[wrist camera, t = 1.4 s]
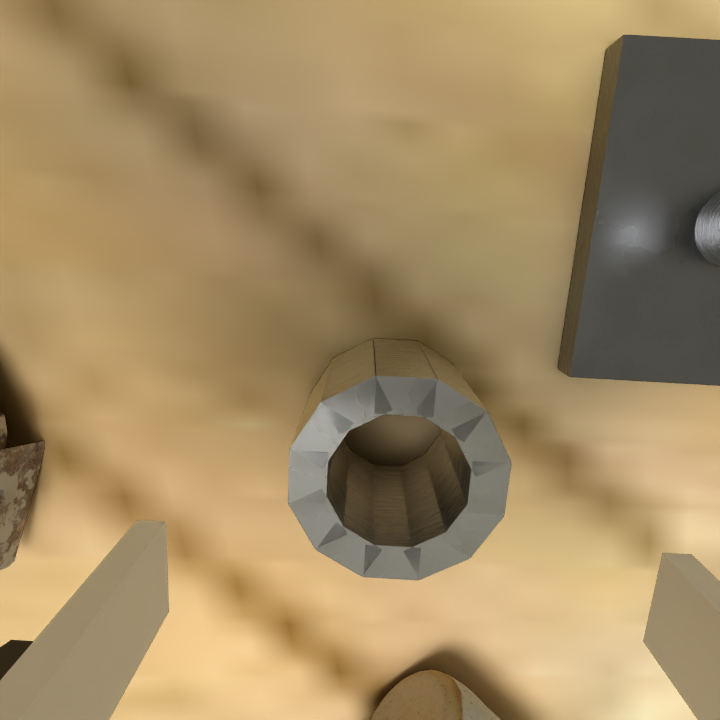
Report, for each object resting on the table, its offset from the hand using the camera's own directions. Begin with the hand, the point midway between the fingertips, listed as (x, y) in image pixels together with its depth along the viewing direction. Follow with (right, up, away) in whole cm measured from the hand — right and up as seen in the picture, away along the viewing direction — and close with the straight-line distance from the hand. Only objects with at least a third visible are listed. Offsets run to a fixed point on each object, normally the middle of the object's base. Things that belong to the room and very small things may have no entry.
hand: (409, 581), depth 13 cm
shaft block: (+15, +12, +9) cm, 21 cm away
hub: (0, +3, +12) cm, 12 cm away
